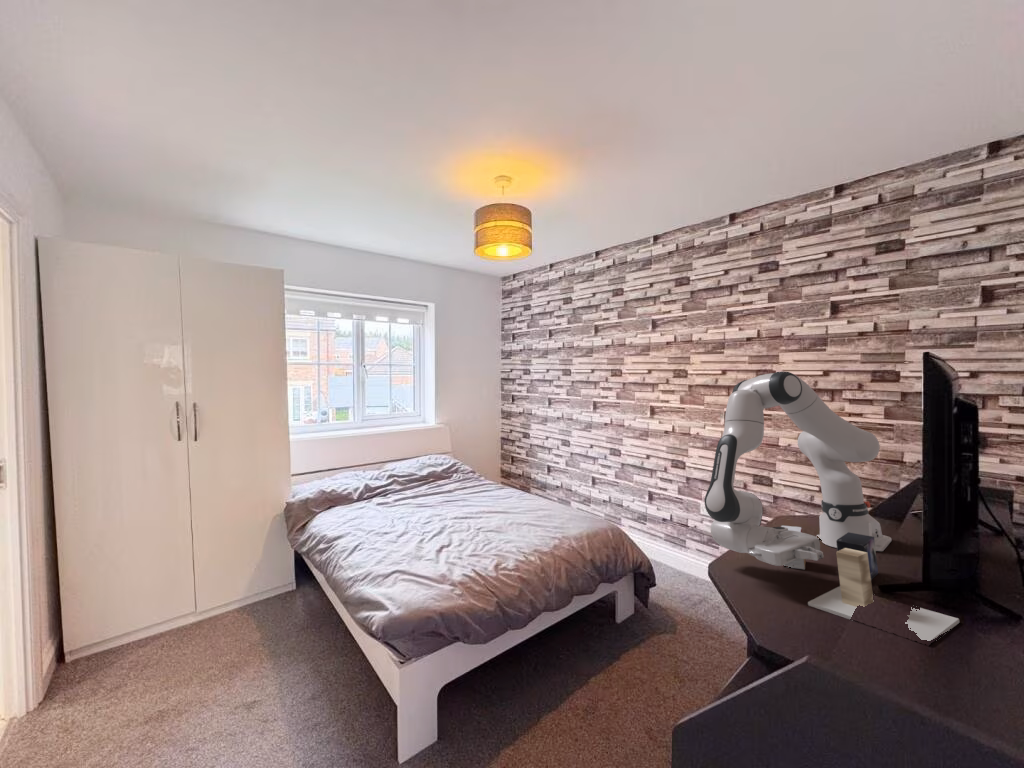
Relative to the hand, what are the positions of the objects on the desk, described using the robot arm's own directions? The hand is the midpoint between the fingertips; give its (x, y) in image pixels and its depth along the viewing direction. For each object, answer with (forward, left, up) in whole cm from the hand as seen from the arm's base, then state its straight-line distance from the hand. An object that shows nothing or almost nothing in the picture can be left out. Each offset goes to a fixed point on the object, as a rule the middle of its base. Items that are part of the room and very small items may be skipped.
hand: (820, 556), depth 107 cm
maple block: (0, +7, -9) cm, 12 cm away
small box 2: (-20, -1, -10) cm, 23 cm away
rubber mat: (0, +11, -10) cm, 15 cm away
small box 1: (-16, -16, -10) cm, 25 cm away
